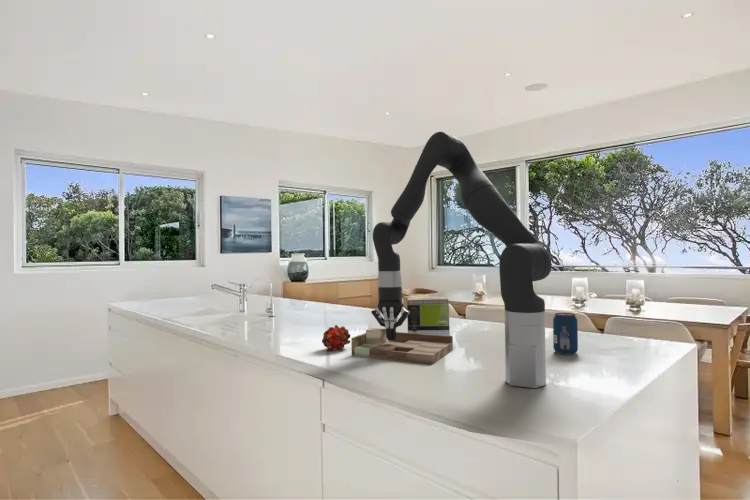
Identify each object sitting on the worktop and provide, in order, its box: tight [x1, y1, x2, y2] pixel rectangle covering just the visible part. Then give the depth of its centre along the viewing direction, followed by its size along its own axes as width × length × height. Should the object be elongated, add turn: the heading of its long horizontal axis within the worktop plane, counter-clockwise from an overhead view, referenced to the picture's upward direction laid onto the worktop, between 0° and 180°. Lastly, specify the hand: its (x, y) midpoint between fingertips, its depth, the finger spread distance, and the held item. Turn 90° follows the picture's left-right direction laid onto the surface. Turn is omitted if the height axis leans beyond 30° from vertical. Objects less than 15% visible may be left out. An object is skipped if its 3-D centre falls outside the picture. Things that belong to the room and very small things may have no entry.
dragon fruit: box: [321, 324, 351, 352], centre depth 151 cm, size 8×8×12 cm
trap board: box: [350, 331, 454, 365], centre depth 145 cm, size 20×26×6 cm
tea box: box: [406, 296, 451, 336], centre depth 169 cm, size 15×10×15 cm, turn 84°
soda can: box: [552, 312, 579, 356], centre depth 142 cm, size 7×7×12 cm
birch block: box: [365, 326, 387, 345], centre depth 148 cm, size 5×5×4 cm
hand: (391, 339), depth 147 cm, fingers closed
